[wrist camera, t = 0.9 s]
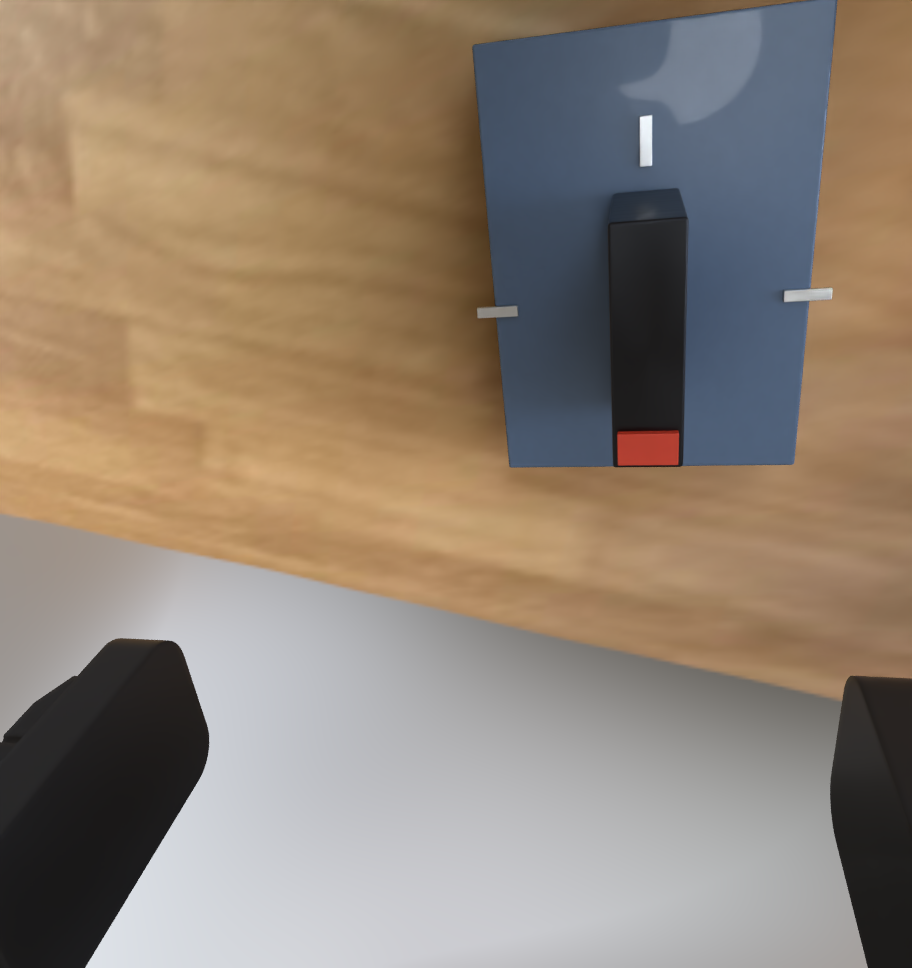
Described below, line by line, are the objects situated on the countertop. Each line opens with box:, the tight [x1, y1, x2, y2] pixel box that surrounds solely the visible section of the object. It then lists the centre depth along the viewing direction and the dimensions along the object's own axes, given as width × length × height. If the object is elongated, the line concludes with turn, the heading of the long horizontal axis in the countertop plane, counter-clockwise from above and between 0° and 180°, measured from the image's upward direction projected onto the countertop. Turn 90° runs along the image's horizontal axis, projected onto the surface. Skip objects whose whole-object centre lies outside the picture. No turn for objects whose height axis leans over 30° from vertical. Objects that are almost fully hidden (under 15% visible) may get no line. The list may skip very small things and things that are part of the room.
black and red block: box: [608, 188, 689, 467], centre depth 24 cm, size 7×2×5 cm, turn 7°
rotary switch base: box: [472, 0, 837, 467], centre depth 27 cm, size 14×11×3 cm
